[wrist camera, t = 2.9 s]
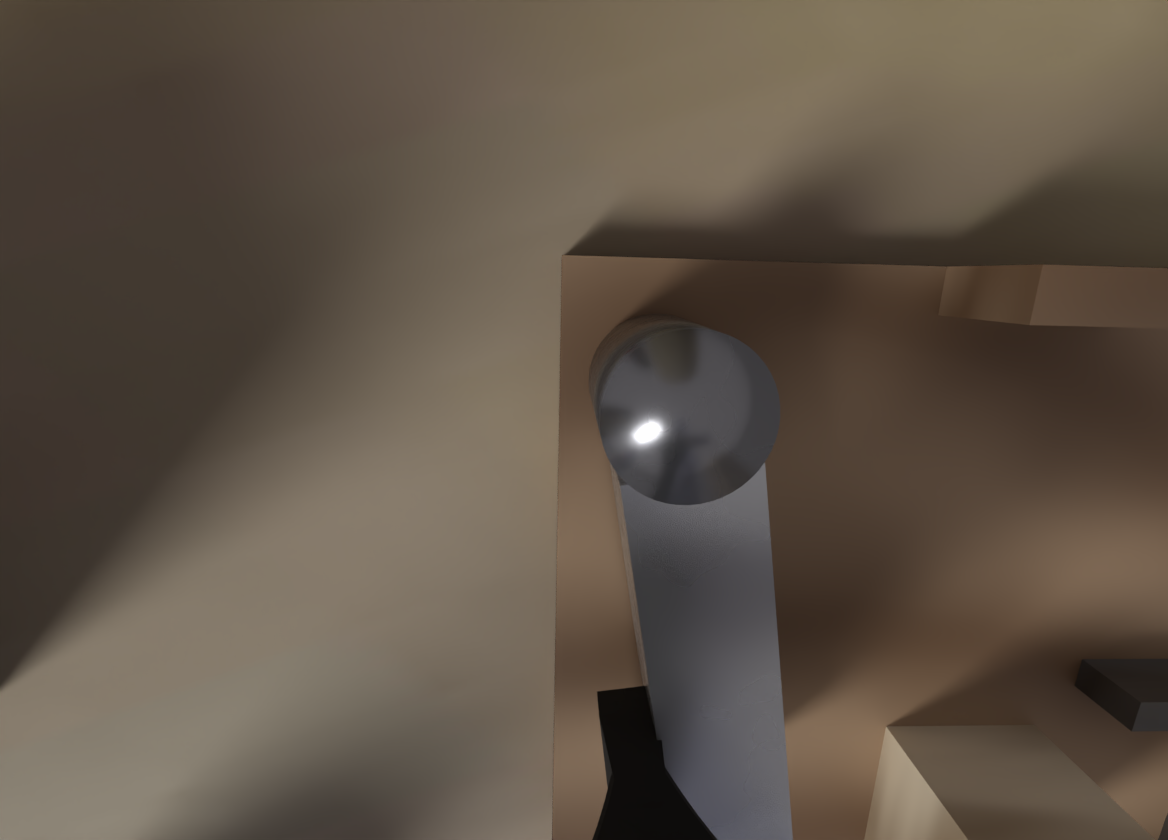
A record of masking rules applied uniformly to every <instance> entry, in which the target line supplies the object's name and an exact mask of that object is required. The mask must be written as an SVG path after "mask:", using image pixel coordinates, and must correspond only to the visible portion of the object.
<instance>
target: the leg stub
mask: <svg viewBox="0 0 1168 840" xmlns="http://www.w3.org/2000/svg"><path fill="white" fill-rule="evenodd" d="M864 840H1155V839H1154V838H1153V837H1152V836H1151V835H1150V834H1149V833H1148V832H1147V831H1146V830H1145V829H1143V828H1142V827H1141V826H1140V825H1139V824H1138V823H1137V822H1136V821H1135V820H1134V819H1133V818H1132V817H1131V816H1130V815H1129V814H1128V813H1127V812H1126V811H1124V810H1123V809H1122V808H1121V807H1120V806H1119V805H1118V804H1117V803H1116V802H1115V801H1114V800H1113V799H1112V798H1111V797H1110V796H1109V795H1108V794H1107V793H1105V792H1104V791H1103V790H1102V789H1101V788H1100V787H1099V786H1098V785H1097V784H1096V783H1095V782H1094V781H1093V780H1092V779H1091V778H1090V777H1089V776H1088V775H1087V774H1085V773H1084V772H1083V771H1082V770H1081V769H1080V768H1079V767H1078V766H1077V765H1076V764H1075V763H1074V762H1073V761H1072V760H1071V759H1070V758H1069V757H1068V756H1066V755H1065V754H1064V753H1063V752H1062V751H1061V750H1060V749H1059V748H1058V747H1057V746H1056V745H1055V744H1054V743H1053V742H1052V741H1051V740H1050V739H1049V738H1047V737H1046V736H1045V735H1044V734H1043V733H1042V732H1041V731H1040V730H1039V729H1038V728H1037V727H1036V726H1035V725H976V726H886V729H885V735H884V740H883V745H882V750H881V755H880V760H879V766H878V771H877V776H876V781H875V786H874V792H873V797H872V802H871V807H870V812H869V817H868V823H867V828H866V833H865V838H864Z"/></svg>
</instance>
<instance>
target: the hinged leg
mask: <svg viewBox="0 0 1168 840" xmlns="http://www.w3.org/2000/svg"><path fill="white" fill-rule="evenodd" d="M589 392H590V396H591V401H592V405H593V409H594V412H595V416H596V420H597V424H598V428H599V432H600V436H601V440H602V444H603V447H604V450H605V453H606V455H607V458H608V459H609V462H610V469H611V475H612V482H613V489H614V495H615V502H616V509H617V516H618V522H619V529H620V536H621V543H622V549H623V556H624V563H625V569H626V576H627V583H628V590H629V596H630V603H631V610H632V617H633V623H634V630H635V637H636V643H637V650H638V657H639V664H640V670H641V677H642V684H643V686H645V689H646V694H647V698H648V702H649V707H650V711H651V715H652V720H653V724H654V729H655V733H656V738H657V740H662V747H663V755H664V764H665V768H666V769H667V771H668V772H669V774H670V775H671V777H672V779H673V780H674V782H675V783H676V784H677V786H678V787H679V789H680V790H681V792H682V793H683V795H684V796H685V798H686V799H687V801H688V802H689V803H690V805H691V806H692V807H693V809H694V810H695V812H696V813H697V814H698V816H699V817H700V818H701V819H702V821H703V822H704V823H705V825H706V826H707V827H708V828H709V830H710V831H711V832H712V833H713V835H714V836H715V837H716V838H717V839H718V840H793V835H792V821H791V808H790V794H789V781H788V767H787V754H786V740H785V726H784V713H783V699H782V686H781V672H780V659H779V645H778V632H777V618H776V604H775V591H774V577H773V564H772V550H771V537H770V523H769V510H768V496H767V482H766V469H765V461H766V459H767V458H768V456H769V454H770V452H771V451H772V448H773V446H774V443H775V441H776V437H777V434H778V430H779V423H780V400H779V394H778V390H777V387H776V383H775V381H774V379H773V376H772V374H771V372H770V371H769V369H768V367H767V366H766V364H765V363H764V362H763V360H762V359H761V358H760V357H759V356H758V354H756V353H755V352H754V351H753V350H752V349H751V348H750V347H749V346H747V345H746V344H744V343H743V342H741V341H740V340H738V339H736V338H734V337H732V336H730V335H727V334H724V333H721V332H719V331H716V330H713V329H710V328H707V327H705V326H702V325H699V324H696V323H693V322H691V321H688V320H685V319H682V318H679V317H676V316H673V315H668V314H657V313H654V314H645V315H641V316H637V317H634V318H631V319H629V320H627V321H625V322H623V323H621V324H620V325H618V326H617V327H615V328H614V329H613V330H612V331H611V332H610V333H609V334H608V335H607V336H606V337H605V338H604V339H603V340H602V342H601V343H600V345H599V346H598V348H597V350H596V352H595V354H594V356H593V359H592V362H591V365H590V370H589Z"/></svg>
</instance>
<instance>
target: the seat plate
mask: <svg viewBox="0 0 1168 840" xmlns="http://www.w3.org/2000/svg"><path fill="white" fill-rule="evenodd" d="M654 313H657V314H668V315H673V316H676V317H679V318H682V319H685V320H688V321H691V322H693V323H696V324H699V325H702V326H705V327H707V328H710V329H713V330H716V331H719V332H721V333H724V334H727V335H730V336H732V337H734V338H736V339H738V340H740V341H741V342H743V343H744V344H746V345H747V346H749V347H750V348H751V349H752V350H753V351H754V352H755V353H756V354H758V356H759V357H760V358H761V359H762V360H763V362H764V363H765V364H766V366H767V367H768V369H769V371H770V372H771V374H772V376H773V379H774V381H775V383H776V387H777V390H778V394H779V400H780V423H779V430H778V434H777V437H776V441H775V443H774V446H773V448H772V451H771V452H770V454H769V456H768V458H767V459H766V461H765V469H766V482H767V496H768V510H769V523H770V537H771V550H772V564H773V577H774V591H775V604H776V618H777V632H778V645H779V659H780V672H781V686H782V699H783V713H784V726H785V740H786V754H787V767H788V781H789V794H790V808H791V821H792V835H793V840H864V838H865V833H866V828H867V823H868V817H869V812H870V807H871V802H872V797H873V792H874V786H875V781H876V776H877V771H878V766H879V760H880V755H881V750H882V745H883V740H884V735H885V729H886V726H976V725H1035V726H1036V727H1037V728H1038V729H1039V730H1040V731H1041V732H1042V733H1043V734H1044V735H1045V736H1046V737H1047V738H1049V739H1050V740H1051V741H1052V742H1053V743H1054V744H1055V745H1056V746H1057V747H1058V748H1059V749H1060V750H1061V751H1062V752H1063V753H1064V754H1065V755H1066V756H1068V757H1069V758H1070V759H1071V760H1072V761H1073V762H1074V763H1075V764H1076V765H1077V766H1078V767H1079V768H1080V769H1081V770H1082V771H1083V772H1084V773H1085V774H1087V775H1088V776H1089V777H1090V778H1091V779H1092V780H1093V781H1094V782H1095V783H1096V784H1097V785H1098V786H1099V787H1100V788H1101V789H1102V790H1103V791H1104V792H1105V793H1107V794H1108V795H1109V796H1110V797H1111V798H1112V799H1113V800H1114V801H1115V802H1116V803H1117V804H1118V805H1119V806H1120V807H1121V808H1122V809H1123V810H1124V811H1126V812H1127V813H1128V814H1129V815H1130V816H1131V817H1132V818H1133V819H1134V820H1135V821H1136V822H1137V823H1138V824H1139V825H1140V826H1141V827H1142V828H1143V829H1145V830H1146V831H1147V832H1148V833H1149V834H1150V835H1151V836H1152V837H1153V838H1154V839H1155V840H1168V268H1144V267H1111V266H1077V265H1044V264H1041V265H995V266H948V267H946V266H913V265H879V264H845V263H811V262H778V261H744V260H710V259H676V258H643V257H609V256H575V255H562V280H561V340H560V400H559V460H558V521H557V581H556V641H555V701H554V761H553V822H552V840H592V839H593V836H594V833H595V830H596V828H597V824H598V821H599V818H600V815H601V811H602V808H603V805H604V801H605V797H606V793H607V789H608V787H607V779H606V770H605V762H604V753H603V745H602V736H601V728H600V719H599V709H598V697H597V691H606V690H614V689H622V688H630V687H638V686H643V684H642V677H641V670H640V664H639V657H638V650H637V643H636V637H635V630H634V623H633V617H632V610H631V603H630V596H629V590H628V583H627V576H626V569H625V563H624V556H623V549H622V543H621V536H620V529H619V522H618V516H617V509H616V502H615V495H614V489H613V482H612V475H611V469H610V462H609V459H608V458H607V455H606V453H605V450H604V447H603V444H602V440H601V436H600V432H599V428H598V424H597V420H596V416H595V412H594V409H593V405H592V401H591V396H590V392H589V370H590V365H591V362H592V359H593V356H594V354H595V352H596V350H597V348H598V346H599V345H600V343H601V342H602V340H603V339H604V338H605V337H606V336H607V335H608V334H609V333H610V332H611V331H612V330H613V329H614V328H615V327H617V326H618V325H620V324H621V323H623V322H625V321H627V320H629V319H631V318H634V317H637V316H641V315H645V314H654Z"/></svg>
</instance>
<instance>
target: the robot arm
mask: <svg viewBox="0 0 1168 840" xmlns="http://www.w3.org/2000/svg"><path fill="white" fill-rule="evenodd" d="M597 697H598V709H599V719H600V728H601V736H602V745H603V753H604V762H605V770H606V779H607V787H608V789H607V793H606V797H605V801H604V805H603V808H602V811H601V815H600V818H599V821H598V824H597V828H596V830H595V833H594V836H593V839H592V840H718V839H717V838H716V837H715V836H714V835H713V833H712V832H711V831H710V830H709V828H708V827H707V826H706V825H705V823H704V822H703V821H702V819H701V818H700V817H699V816H698V814H697V813H696V812H695V810H694V809H693V807H692V806H691V805H690V803H689V802H688V801H687V799H686V798H685V796H684V795H683V793H682V792H681V790H680V789H679V787H678V786H677V784H676V783H675V782H674V780H673V779H672V777H671V775H670V774H669V772H668V771H667V769H666V768H665V764H664V755H663V747H662V740H657V738H656V733H655V729H654V724H653V720H652V715H651V711H650V707H649V702H648V698H647V694H646V689H645V686H638V687H630V688H622V689H614V690H606V691H597Z"/></svg>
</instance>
